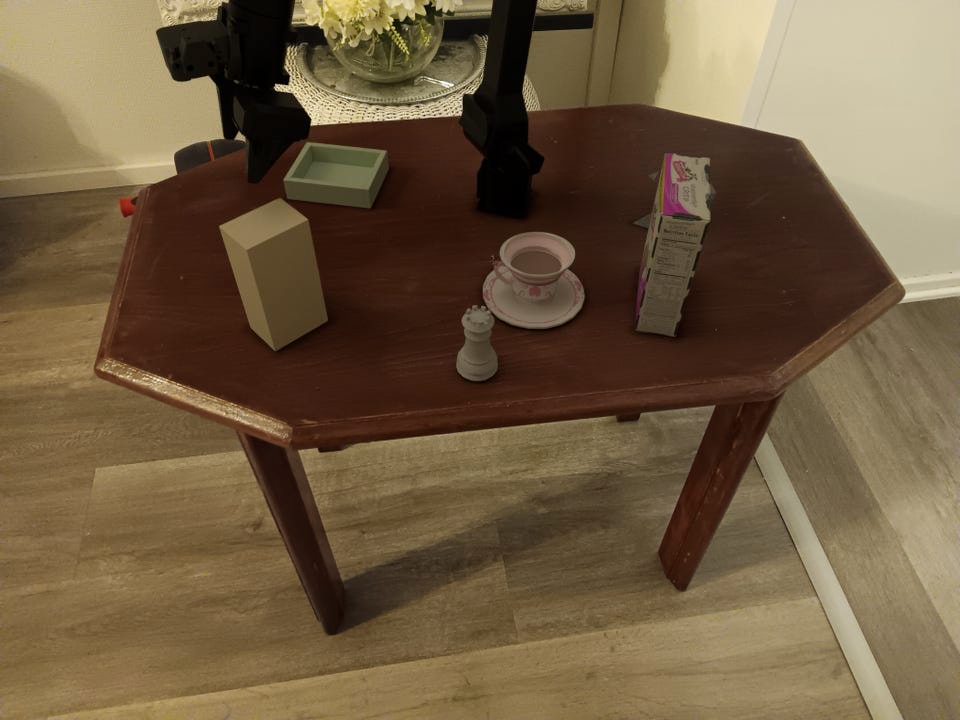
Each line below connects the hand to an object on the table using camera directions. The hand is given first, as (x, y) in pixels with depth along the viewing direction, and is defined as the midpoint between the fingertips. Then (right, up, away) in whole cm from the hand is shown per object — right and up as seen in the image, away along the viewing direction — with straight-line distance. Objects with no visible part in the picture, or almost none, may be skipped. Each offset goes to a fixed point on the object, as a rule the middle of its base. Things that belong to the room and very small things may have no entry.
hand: (240, 160), depth 75 cm
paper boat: (+51, -2, +21) cm, 55 cm away
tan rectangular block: (+4, -17, +6) cm, 18 cm away
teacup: (+31, -13, +10) cm, 35 cm away
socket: (+6, +3, +24) cm, 25 cm away
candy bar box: (+46, -14, +9) cm, 49 cm away
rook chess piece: (+25, -22, +2) cm, 33 cm away
